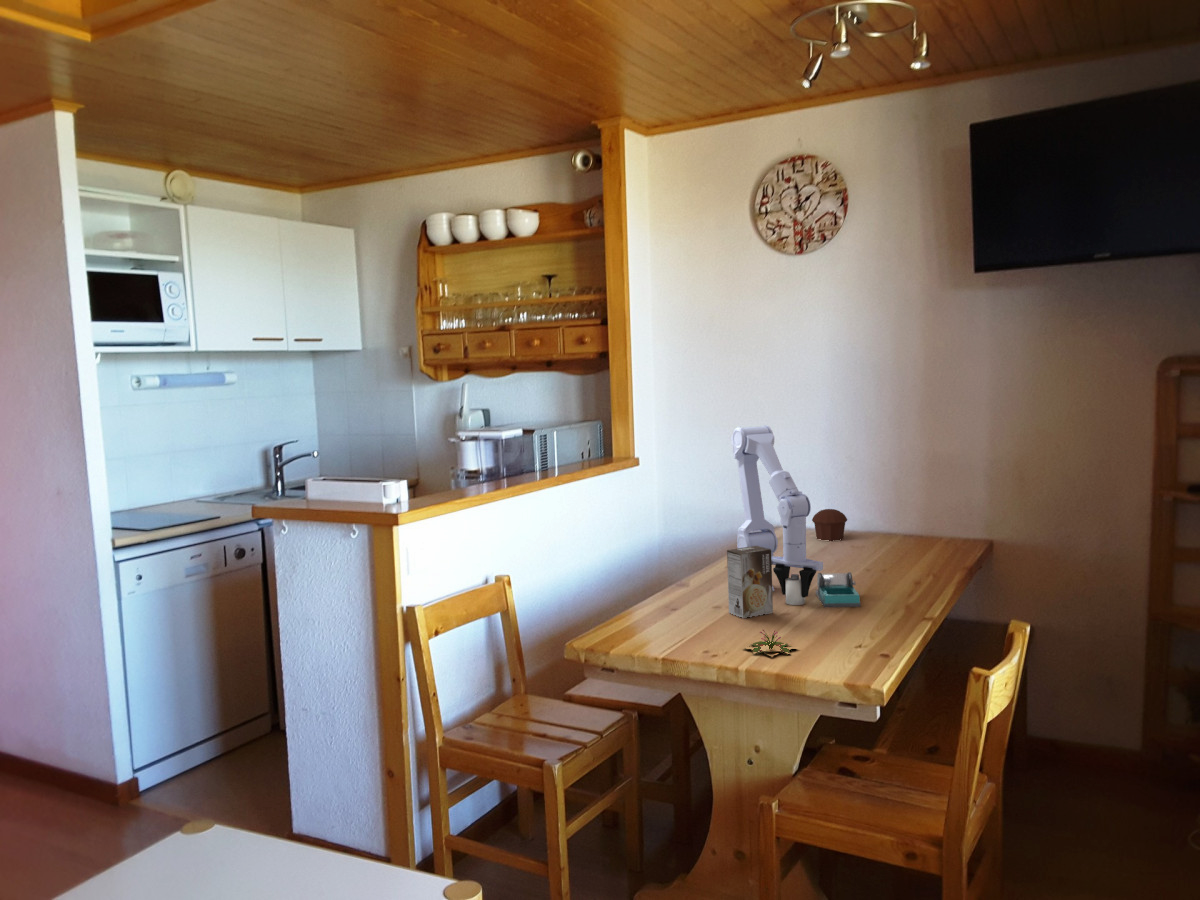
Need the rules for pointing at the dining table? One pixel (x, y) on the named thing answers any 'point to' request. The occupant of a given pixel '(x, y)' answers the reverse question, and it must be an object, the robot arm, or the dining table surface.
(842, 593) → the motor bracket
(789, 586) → the white capped bottle
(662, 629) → the dining table surface
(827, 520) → the muffin
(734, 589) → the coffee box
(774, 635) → the lily flower
